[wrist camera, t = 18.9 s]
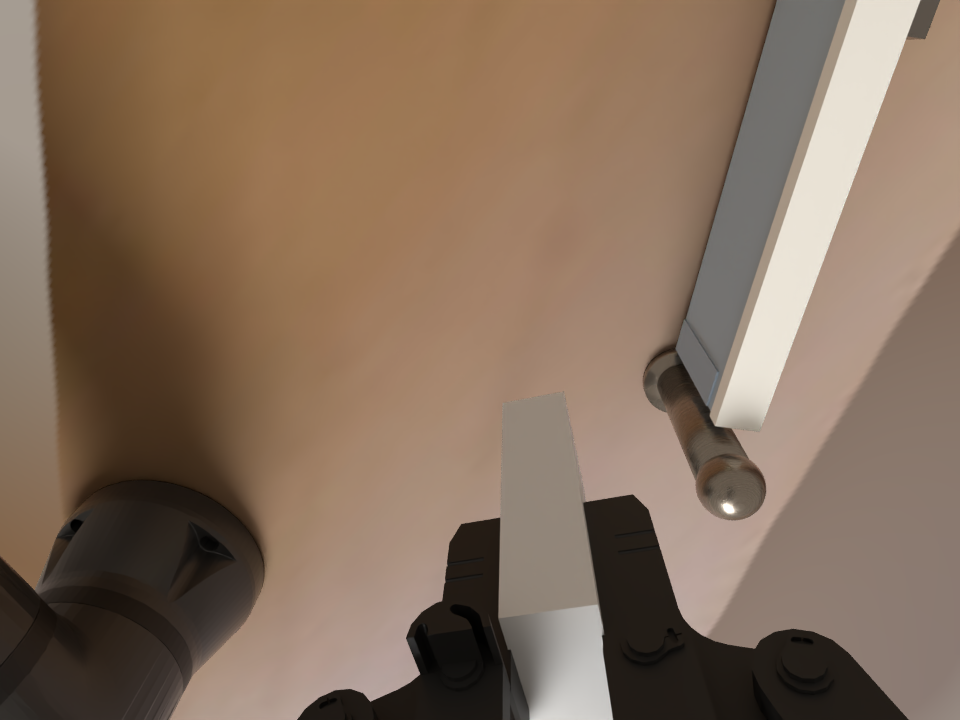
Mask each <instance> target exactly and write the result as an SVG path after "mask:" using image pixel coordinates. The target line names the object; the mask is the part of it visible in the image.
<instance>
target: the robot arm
mask: <svg viewBox="0 0 960 720" xmlns="http://www.w3.org/2000/svg"><path fill="white" fill-rule="evenodd" d="M447 565H448V567H447V568H446V576H445V581H446V583H445V584H444V592H443V600H442V601H441V602H438V603H435V604H434V605H432V606H431V607H429V608H428V609H426V610H424V611H423V612H422V613H421V614H420V615H419V616H418V617H417V618H416V620H415V621H414V622H413V623H412V624H411V627H410V629H409V632H408V634H407V637H406V639H407V642H408V644H409V647H410V649H411V652H412V654H413V657H414V659H415V662H416V664H417V667H418V669H419V672H420V675H419V676H418V677H417V678H415V679H414V680H413V681H412V682H411V683H409V684H407V685H405V686H404V687H402V688H400V689H398V690H396V691H394V692H391V693H389V694H387V695H385V696H382V697H380V698H378V699H376V700H373V701H371V702H370V701H369V700H368V699H367V697H366V696H365V695H364V694H363V693H361V692H358V691H355V690H352V689H345V690H335V691H333V692H331V693H328V694H326V695H324V696H322V697H319V698H318V699H317V700H316V701H314V702H313V703H312V704H311V705H310V706H308V707H307V708H306V709H305V710H304V711H303V713H302V714H301V715H300V717H299V718H298V719H297V720H908V719H907V717H906V716H905V715H904V714H903V713H902V712H901V711H900V710H899V709H898V707H897V706H896V705H895V704H894V703H893V702H892V701H891V700H890V699H889V698H888V696H887V695H886V694H885V693H884V692H883V691H882V690H881V689H880V687H878V685H877V684H876V683H875V682H874V681H873V680H872V679H871V677H870V676H869V675H868V674H867V673H866V672H865V671H864V670H863V669H862V667H861V666H860V665H859V664H858V663H857V662H856V661H855V660H854V659H853V657H851V655H850V654H849V653H848V652H846V651H845V650H844V649H843V648H842V647H840V646H839V645H838V644H837V643H835V642H834V641H833V640H831V639H829V638H826V637H824V636H822V635H819V634H817V633H815V632H811V631H804V630H797V629H790V630H783V631H778V632H774V633H772V634H771V635H769V636H767V637H765V638H764V639H762V640H760V642H759V643H758V645H757V647H756V648H755V649H753V648H745V647H739V646H733V645H727V644H723V643H719V642H715V641H713V640H711V639H709V638H706V637H704V636H702V635H701V634H699V633H698V632H696V631H695V630H694V629H692V628H691V627H690V626H689V625H688V623H687V622H686V621H685V620H684V619H683V617H682V615H681V613H680V611H679V609H678V606H677V602H676V599H675V596H674V592H673V589H672V586H671V583H670V579H669V576H668V573H667V569H666V566H665V563H664V559H663V556H662V553H661V550H660V547H659V543H658V540H657V536H656V533H655V530H654V527H653V523H652V520H651V517H650V513H649V510H648V509H647V508H646V507H645V506H644V505H643V504H642V503H641V502H640V501H639V500H638V499H637V498H636V497H635V496H634V495H627V496H620V497H614V498H608V499H602V500H596V501H590V502H586V498H585V492H584V487H583V481H582V476H581V471H580V467H579V462H578V457H577V452H576V447H575V443H574V438H573V433H572V428H571V423H570V419H569V414H568V409H567V404H566V399H565V395H564V392H559V393H553V394H548V395H543V396H537V397H532V398H527V399H521V400H516V401H511V402H505V403H503V413H502V463H501V513H500V518H496V519H490V520H484V521H477V522H471V523H465V524H461V526H460V527H459V529H458V530H457V532H456V534H455V535H454V537H453V538H452V540H451V541H450V543H449V552H448V560H447ZM263 579H264V568H263V561H262V558H261V554H260V552H259V549H258V547H257V545H256V543H255V541H254V539H253V538H252V536H251V535H250V533H249V532H248V531H247V529H246V528H245V527H244V526H243V525H242V523H241V522H240V521H239V520H238V519H237V518H236V517H235V516H233V515H232V514H231V513H230V512H229V511H228V510H226V509H225V508H224V507H222V506H221V505H219V504H218V503H216V502H215V501H213V500H211V499H210V498H208V497H206V496H204V495H202V494H200V493H198V492H195V491H193V490H190V489H188V488H185V487H182V486H178V485H174V484H170V483H165V482H159V481H146V480H138V481H127V482H121V483H117V484H113V485H110V486H107V487H105V488H103V489H101V490H99V491H97V492H95V493H94V494H92V495H91V496H90V497H89V498H87V499H86V500H85V501H84V502H83V503H82V504H81V505H80V507H79V508H78V509H77V510H76V511H75V512H74V513H73V514H72V515H71V516H70V517H69V518H68V519H67V521H66V522H65V523H64V525H63V526H62V528H61V529H60V531H59V533H58V535H57V538H56V540H55V542H54V545H53V547H52V550H51V552H50V554H49V557H48V559H47V562H46V564H45V567H44V569H43V571H42V574H41V576H40V579H39V581H38V584H37V586H36V588H35V590H33V588H32V587H31V586H30V585H29V584H28V583H27V582H26V581H25V580H24V579H23V578H22V577H21V576H20V575H19V574H18V573H17V572H16V571H15V570H14V569H13V568H12V567H11V566H10V565H9V564H8V563H7V562H6V561H5V560H4V559H3V558H2V557H1V556H0V720H170V718H171V716H172V714H173V712H174V710H175V708H176V706H177V704H178V702H179V701H180V698H181V696H182V694H183V692H184V691H185V689H186V687H187V685H188V683H189V681H190V679H191V677H192V676H193V674H194V673H195V672H196V671H197V670H198V669H199V668H200V667H201V666H202V665H203V664H204V663H206V662H207V661H208V660H209V659H210V658H211V657H212V656H213V655H214V654H215V653H216V652H217V651H218V650H219V649H220V648H221V647H222V646H223V645H224V644H225V643H226V641H227V640H228V639H229V638H230V637H231V636H232V635H233V634H234V633H236V632H237V631H238V630H239V629H240V627H241V626H242V625H243V624H244V622H245V621H246V620H247V618H248V617H249V615H250V613H251V611H252V609H253V607H254V605H255V602H256V600H257V598H258V596H259V594H260V592H261V589H262V585H263Z"/></svg>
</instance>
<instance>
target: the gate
mask: <svg viewBox="0 0 960 720" xmlns="http://www.w3.org/2000/svg"><path fill="white" fill-rule="evenodd" d="M919 3H920V0H777V2H776V6H775V9H774V13H773V16H772V20H771V23H770V27H769V30H768V34H767V37H766V41H765V44H764V48H763V51H762V55H761V58H760V62H759V65H758V69H757V72H756V76H755V79H754V83H753V86H752V90H751V93H750V97H749V100H748V104H747V107H746V111H745V114H744V118H743V121H742V125H741V128H740V132H739V135H738V139H737V142H736V146H735V149H734V153H733V156H732V160H731V163H730V166H729V170H728V173H727V177H726V180H725V184H724V187H723V191H722V194H721V198H720V201H719V205H718V208H717V212H716V215H715V219H714V222H713V226H712V229H711V233H710V236H709V240H708V243H707V247H706V250H705V254H704V257H703V261H702V264H701V268H700V271H699V275H698V278H697V282H696V285H695V289H694V292H693V296H692V299H691V303H690V306H689V310H688V313H687V317H686V319H684V321H683V325H682V328H681V332H680V335H679V339H678V342H677V346H676V351H677V353H678V354H679V356H680V358H681V360H682V362H683V364H684V366H685V367H686V369H687V371H688V373H689V375H690V377H691V379H692V381H693V382H694V384H695V386H696V388H697V390H698V392H699V394H700V396H701V397H702V399H703V401H704V403H705V405H706V406H708V407H709V409H710V411H711V412H710V415H709V416H710V418H711V420H712V421H713V423H714V425H715V426H718V427H726V428H733V429H741V430H748V431H756V432H760V429H761V427H762V424H763V421H764V419H765V416H766V413H767V411H768V408H769V405H770V403H771V400H772V397H773V394H774V392H775V389H776V386H777V384H778V381H779V378H780V376H781V373H782V370H783V368H784V365H785V362H786V360H787V357H788V354H789V352H790V349H791V346H792V343H793V341H794V338H795V335H796V333H797V330H798V327H799V325H800V322H801V319H802V317H803V314H804V311H805V309H806V306H807V303H808V301H809V298H810V295H811V292H812V290H813V287H814V284H815V282H816V279H817V276H818V274H819V271H820V268H821V266H822V263H823V260H824V258H825V255H826V252H827V250H828V247H829V244H830V241H831V239H832V236H833V233H834V231H835V228H836V225H837V223H838V220H839V217H840V215H841V212H842V209H843V207H844V204H845V201H846V199H847V196H848V193H849V190H850V188H851V185H852V182H853V180H854V177H855V174H856V172H857V169H858V166H859V164H860V161H861V158H862V156H863V153H864V150H865V148H866V145H867V142H868V139H869V137H870V134H871V131H872V129H873V126H874V123H875V121H876V118H877V115H878V113H879V110H880V107H881V105H882V102H883V99H884V97H885V94H886V91H887V88H888V86H889V83H890V80H891V78H892V75H893V72H894V70H895V67H896V64H897V62H898V59H899V56H900V54H901V51H902V48H903V46H904V43H905V40H906V37H907V35H908V32H909V29H910V27H911V24H912V21H913V19H914V16H915V13H916V11H917V8H918V5H919Z"/></svg>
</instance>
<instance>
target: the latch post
mask: <svg viewBox="0 0 960 720" xmlns="http://www.w3.org/2000/svg"><path fill="white" fill-rule="evenodd" d="M939 2H940V0H920V3H919V5H918V8H917V11H916V13H915V16H914V19H913V21H912V24H911V27H910V29H909V32H908V35H907V37H906V39H925V38H926V36H927V33H928V31H929V28H930V25H931V23H932V20H933V17H934V15H935V12H936V9H937V7H938V4H939Z"/></svg>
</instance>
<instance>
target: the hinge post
mask: <svg viewBox="0 0 960 720" xmlns="http://www.w3.org/2000/svg"><path fill="white" fill-rule="evenodd" d="M643 387H644V391H645V393H646V396H647V398H648V400H649V401H650V402H651V404H652V405H653V406H655V407H656V408H658V409H659V410H661V411H664V412H667V413H668V416H669V418H670V420H671V423H672V425H673V427H674V430H675V432H676V435H677V437H678V439H679V442H680V444H681V447H682V449H683V451H684V454H685V456H686V459H687V461H688V463H689V466H690V468H691V471H692V473H693V475H694V478H695V480H696V492H697V496H698V498H699V500H700V502H701V503H702V505H703V506H704V507H705V508H706V510H708V511H709V512H710V513H711V514H713V515H715V516H716V517H719V518H721V519H725V520H742V519H745V518H748V517H750V516H751V515H753V514H754V513H756V512H757V511H758V510H759V508H760V507H761V506H762V504H763V502H764V499H765V496H766V483H765V479H764V476H763V474H762V472H761V471H760V469H759V468H758V467H757V466H756V465H755V464H754V463H753V462H752V461H751V460H749V458H748V457H747V455H746V453H745V451H744V449H743V448H742V446H741V444H740V442H739V441H738V439H737V437H736V435H735V434H734V432H733V430H732V428H726V427H718V426H715V425H714V423H713V421H712V420H711V418H710V416H709V415H710V412H711V411H710V409H709V407H708V406H706V405H705V403H704V401H703V399H702V397H701V396H700V394H699V392H698V390H697V388H696V386H695V384H694V382H693V381H692V379H691V377H690V375H689V373H688V371H687V369H686V367H685V366H684V364H683V362H682V360H681V358H680V356H679V354H678V353H677V351H676V349H672V350H668V351H666V352H663V353H662V354H660V355H658V356H657V357H655V358H654V359H653V360H652V361H651V362H650V364H649V365H648V366H647V368H646V370H645V373H644V376H643Z"/></svg>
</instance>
